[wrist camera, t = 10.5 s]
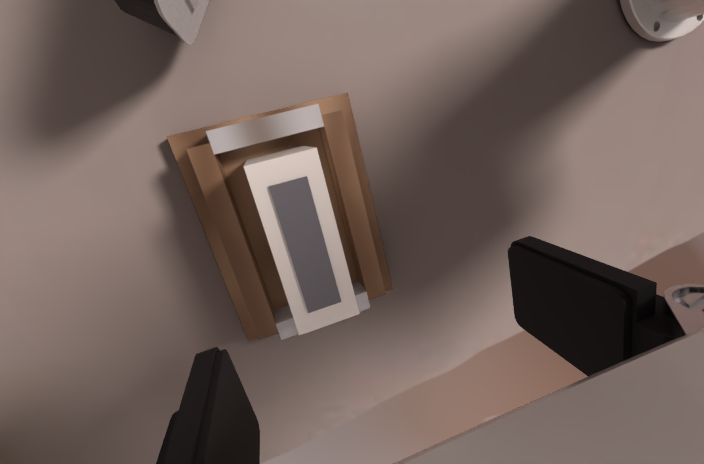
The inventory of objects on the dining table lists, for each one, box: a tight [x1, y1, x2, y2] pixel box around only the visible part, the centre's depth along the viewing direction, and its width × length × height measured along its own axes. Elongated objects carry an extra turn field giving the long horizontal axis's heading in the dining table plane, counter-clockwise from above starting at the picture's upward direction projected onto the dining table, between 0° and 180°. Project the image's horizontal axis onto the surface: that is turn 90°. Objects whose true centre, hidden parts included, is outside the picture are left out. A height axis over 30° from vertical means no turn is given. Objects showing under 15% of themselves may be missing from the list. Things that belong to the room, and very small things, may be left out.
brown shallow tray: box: [167, 93, 392, 340], centre depth 28 cm, size 14×18×4 cm
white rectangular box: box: [243, 146, 360, 336], centre depth 26 cm, size 4×12×7 cm, turn 14°
